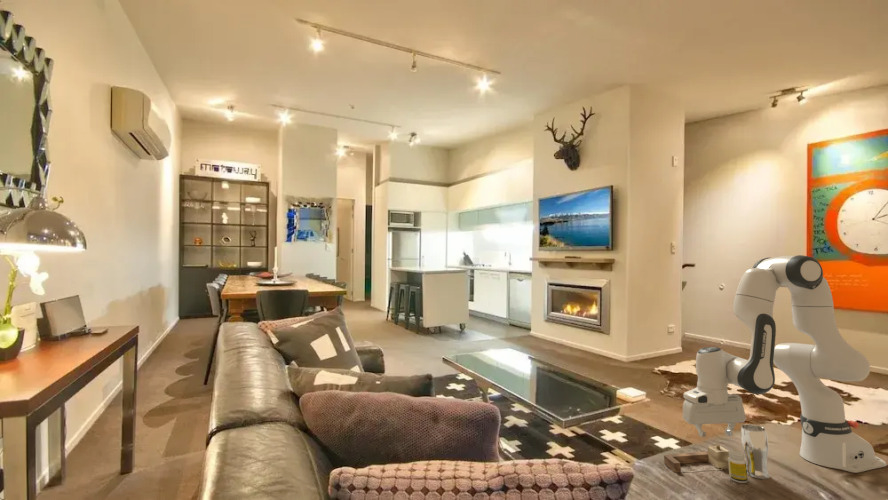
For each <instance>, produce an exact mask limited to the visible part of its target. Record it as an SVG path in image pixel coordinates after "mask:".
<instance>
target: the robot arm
mask: <svg viewBox="0 0 888 500" xmlns="http://www.w3.org/2000/svg"><path fill="white" fill-rule="evenodd" d="M779 288H787V289H788V290H789V292H790V305H791V306H790V307H791V317H792V325H793V327H794V328H795V329H796V330H797V331H799V332H800V333H802V334H804V335H806V336H808V337H809V338H811V340H812V341H813V342H814V344H808V343H798V342H784V343H778V344H776V335H777V333H776V332H777V327H776V326H777V325H776V321H775V319H774V317H773V316H774V315H773V314H774V305H775V299H776V294H777V292H778V290H779ZM834 305H835V304H834V299H833V295H832V290H831V288H830V285H829V283H828V280H827V279H826V278H825V277H824V271H823V267H822V264H821V263H820V262H819V260H818V259H816V258H814V257H812V256H809V255H808V256H807V255H803V254H801V255H800V254H799V255H780V256H774V257H764V258H761V259H760V260H757V261H756V262H755V263H754V265H753V266H752V268H749V269H747V270H745V271H744V272H743V274H742V276H741V278H740V281H739V283H738V285H737V288H736V291H735V295H734V298H733V303H732V308H733V309H732V310H733V314H734V315H735V317H736V318H737V319H738V320H739V321H740V322H742V323H743V324H744V325H745V326H746V327H747V328H748V329H749V331H750V333H751V341H750V351H749V358H748V359H745V358H743V357H739V356H736V355H733V354H731V353H728V352H727V351H725V350H723V349H722V348H720V347H718V346H706V347H701V348H700V349H698V351H697V352H696V356H695V357H696V358H695V373H696V375H697V382H696V387H695V388H691V389H689V390H687V391H685V392H683V395H682V396H683V398H684V399H685V400H684V401H683V403H682V418H683V420H684V421H685V422H686V423H688V424H690V425H693V426H694V427H695V429H696V430H697V431H698V436H699V437H700V438H706V437H707V435H706V433H707V432H706V431H704V430H703V429H702V427H703V425H710V424H711V425H712V424H727V427H726V428H725V429H724V434H725V435H726V436H727V437H730V436H731V437H732V436H733V431H734V429H735V427H736V423H744V422H746V419H747V418H746V412H745V407H744V405H743V403H744V401H743V398H742V397H741V395H739V394H737V393H733V394H730V393H729V391H728V385H730V384H731V385H734V386H737V387H739V388H741V389H743V390H745V391H747V392H749V393H750V394H754V395H764V394H766V393H768V392H769V391H771V390H772V388H773V387H774V385H775V382H776V376H775V370H774V368H775V367H776V368H778V369H779V370H780V371H782V372H783V373H784V374H785V375H786V376H787V377H788V378H789V380H790V381H791V382H792V383H793V385H794V386H795V388H796V390H797V393H798V396H799V402H800V408H801V409H800V410H801V413H800V417H799V418H800V425H801V429H802V430H801V442H800V443H801V445H800V450H799V456H800V457H801V458H803V459H804V460H806V461H808V462H811V463H813V464H815V465H819V466H822V467H826V468H831V469H836V470H841V471H846V472H849V473H854V474H855V473H856V474H857V473H863V472H865V471H866V472H867V471H870V470H875V469H879V468H884V467H887V465H888V464H887V462H886V461H885V460H883V459H882V458H880V457H878V456H876V453H875V450H874V447H873V446H872V444H871V443H870V442H868V441H867V440H866V439H864V438H863V437H861V436H860V435H858V434H857V433H855V432H853V430H852V428H854V429H858V428H859V427H860V426H859V425H860V424H859V423H858V422H857V421H854V420H847V419H846V415H845V414H846V413H845V404H844V399H843V398H842V396H841V395H840V393H838V392H837V391H835V389H834V390H833V389H832V388H830V387H828V386H827V385H825V383H824V382H823V381H822V380H821V379H827V380H831V381H832V380H833V381H839V382H840V381H841V382H862V381H864V380H865V379H867V378H868V376H869V375H870V373H871V364H870V362H869V360H868V358H867V357H866V355H864V353H862V352H860V351H859V350H857V349H856V348H854V347H853V346H852V345H850V344H849V343H848V342H847V341H846V340H845V338H843V336H842V334H841V333H840V331H839V328H838V325H837V321H836V314H835V308H834V307H835V306H834ZM775 344H776V345H775ZM774 366H775V367H774ZM725 435H724V436H725Z"/></svg>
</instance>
